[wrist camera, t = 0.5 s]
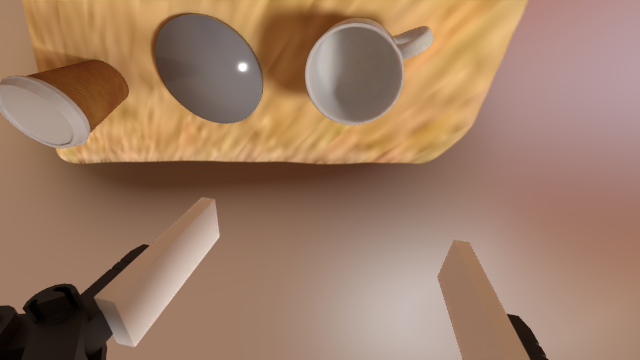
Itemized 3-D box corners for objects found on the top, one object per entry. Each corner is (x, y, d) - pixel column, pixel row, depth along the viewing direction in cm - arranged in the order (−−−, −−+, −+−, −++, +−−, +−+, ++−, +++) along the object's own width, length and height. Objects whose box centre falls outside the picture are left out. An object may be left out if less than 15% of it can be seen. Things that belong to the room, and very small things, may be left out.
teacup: (328, 105, 38) (322, 134, 33) (301, 27, 32) (287, 46, 26) (427, 77, 34) (441, 105, 28) (419, -20, 27) (435, -10, 22)
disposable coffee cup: (87, 33, 35) (-3, 62, 27) (150, 89, 40) (91, 130, 31) (64, 72, 40) (-20, 108, 31) (123, 119, 44) (65, 161, 36)
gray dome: (181, -18, 30) (176, -17, 29) (283, 72, 36) (281, 75, 35) (146, 75, 38) (142, 78, 38) (233, 136, 44) (231, 139, 44)
